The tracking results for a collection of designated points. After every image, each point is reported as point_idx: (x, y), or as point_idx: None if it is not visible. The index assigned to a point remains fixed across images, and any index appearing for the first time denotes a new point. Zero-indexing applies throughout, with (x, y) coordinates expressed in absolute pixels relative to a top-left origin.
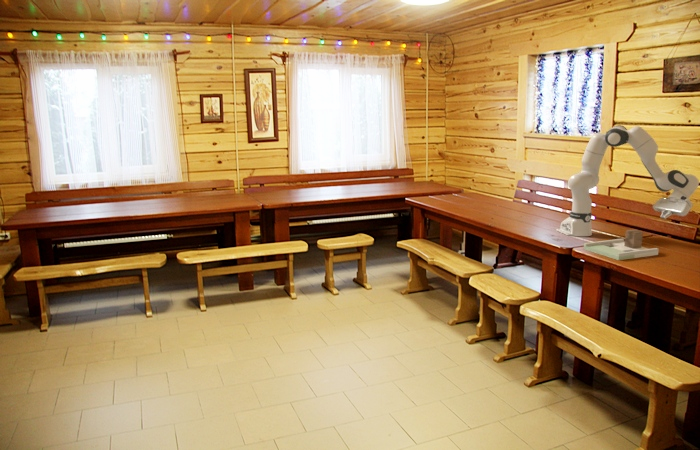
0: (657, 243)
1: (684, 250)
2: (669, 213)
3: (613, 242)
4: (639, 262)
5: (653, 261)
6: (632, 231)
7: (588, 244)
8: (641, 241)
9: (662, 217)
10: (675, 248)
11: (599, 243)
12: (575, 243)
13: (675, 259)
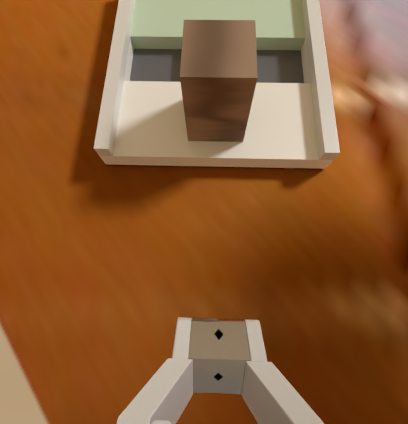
0: None
1: (93, 382)
2: (124, 416)
3: (313, 96)
4: (78, 31)
5: (57, 78)
6: (216, 32)
7: None
8: (185, 118)
9: (217, 321)
10: (149, 374)
11: (306, 24)
12: (401, 25)
13: (21, 174)
